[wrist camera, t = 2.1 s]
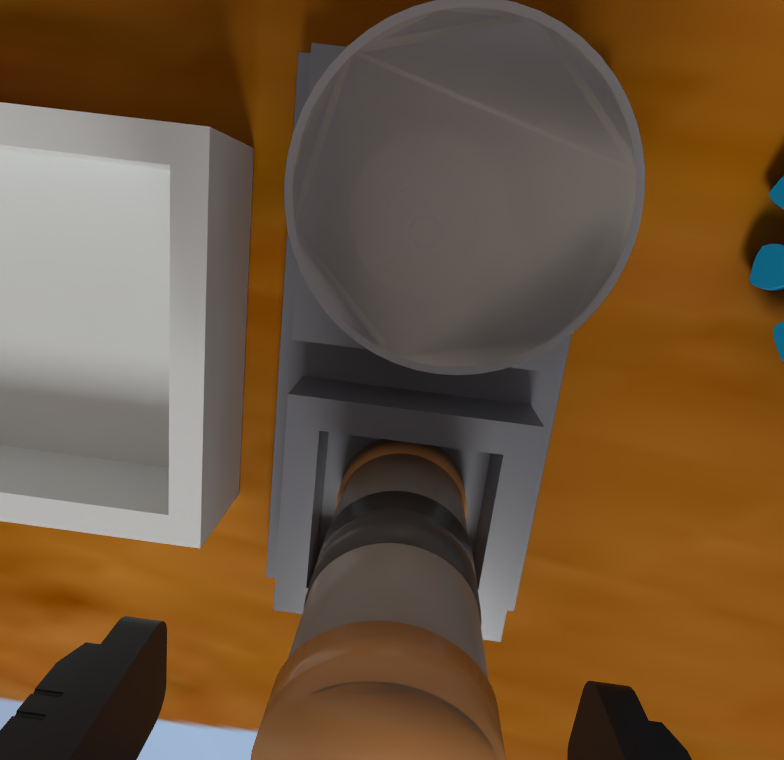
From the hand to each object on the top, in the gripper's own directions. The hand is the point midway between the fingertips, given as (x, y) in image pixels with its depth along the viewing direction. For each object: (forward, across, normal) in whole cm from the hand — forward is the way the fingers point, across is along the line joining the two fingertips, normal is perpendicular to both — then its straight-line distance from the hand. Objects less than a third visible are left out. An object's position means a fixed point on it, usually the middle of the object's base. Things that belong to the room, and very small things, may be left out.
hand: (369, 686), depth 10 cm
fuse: (+8, 0, -9) cm, 12 cm away
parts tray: (+10, +12, -4) cm, 16 cm away
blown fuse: (+8, 0, 0) cm, 8 cm away
